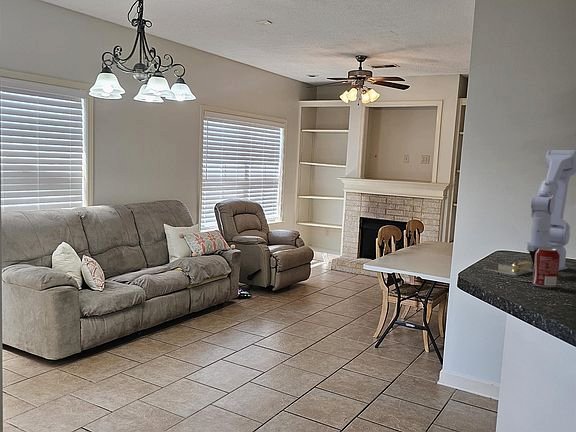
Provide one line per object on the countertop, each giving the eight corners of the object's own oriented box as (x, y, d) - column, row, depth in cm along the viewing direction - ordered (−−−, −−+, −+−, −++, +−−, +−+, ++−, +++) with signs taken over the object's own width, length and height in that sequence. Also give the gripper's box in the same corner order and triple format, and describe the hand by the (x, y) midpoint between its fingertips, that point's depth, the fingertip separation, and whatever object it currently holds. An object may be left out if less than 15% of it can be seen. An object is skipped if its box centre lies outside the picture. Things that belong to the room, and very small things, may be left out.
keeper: (491, 267, 185) (491, 260, 184) (510, 270, 179) (510, 263, 179) (485, 268, 182) (486, 261, 182) (504, 271, 177) (505, 264, 177)
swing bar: (517, 272, 175) (517, 263, 174) (510, 271, 177) (510, 262, 176) (531, 268, 182) (532, 260, 182) (524, 267, 184) (525, 259, 184)
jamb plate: (500, 265, 191) (500, 263, 191) (532, 271, 182) (533, 269, 182) (482, 269, 183) (483, 267, 183) (516, 275, 174) (516, 273, 174)
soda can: (559, 290, 155) (563, 250, 153) (536, 288, 156) (539, 249, 155) (553, 285, 161) (556, 247, 160) (530, 283, 162) (533, 246, 161)
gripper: (537, 228, 184) (534, 265, 185) (519, 230, 174) (516, 269, 176) (558, 230, 179) (555, 268, 180) (540, 233, 169) (537, 273, 171)
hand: (537, 269), depth 178 cm, fingers closed
